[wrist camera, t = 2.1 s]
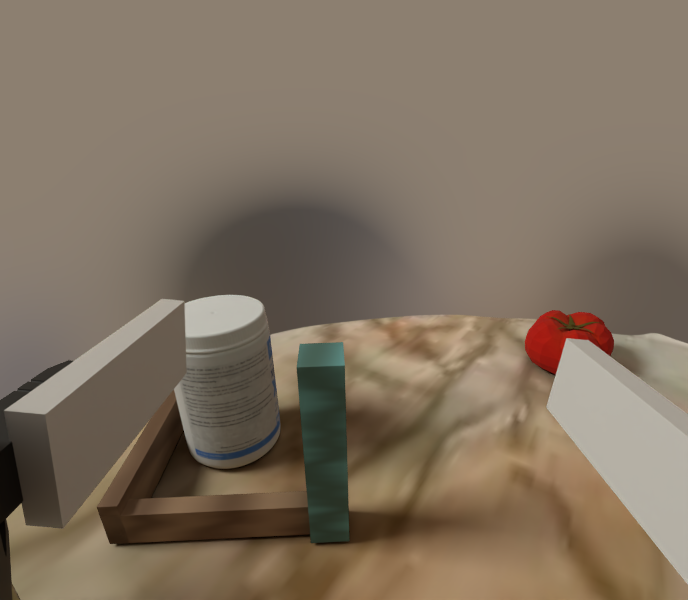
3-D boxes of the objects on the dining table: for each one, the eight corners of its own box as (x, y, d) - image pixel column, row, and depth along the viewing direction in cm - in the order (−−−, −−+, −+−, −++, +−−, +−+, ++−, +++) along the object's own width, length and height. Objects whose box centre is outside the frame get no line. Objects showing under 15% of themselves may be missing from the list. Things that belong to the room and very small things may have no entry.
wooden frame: (105, 553, 32) (40, 377, 25) (185, 400, 49) (158, 274, 43) (349, 541, 32) (344, 365, 26) (342, 393, 50) (338, 268, 43)
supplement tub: (299, 433, 44) (289, 308, 38) (224, 490, 37) (198, 349, 31) (243, 399, 50) (227, 286, 44) (170, 443, 43) (139, 316, 37)
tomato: (513, 369, 54) (520, 325, 52) (537, 337, 62) (544, 298, 60) (597, 396, 49) (610, 348, 46) (612, 357, 56) (623, 314, 54)
